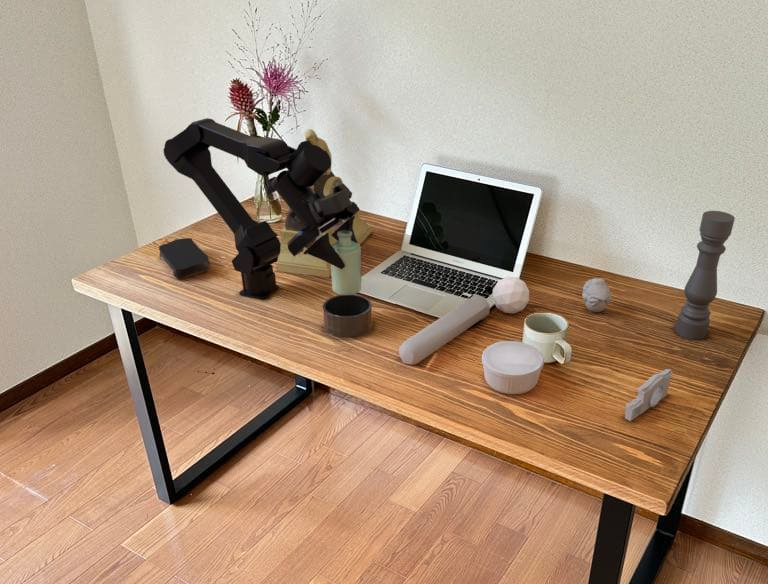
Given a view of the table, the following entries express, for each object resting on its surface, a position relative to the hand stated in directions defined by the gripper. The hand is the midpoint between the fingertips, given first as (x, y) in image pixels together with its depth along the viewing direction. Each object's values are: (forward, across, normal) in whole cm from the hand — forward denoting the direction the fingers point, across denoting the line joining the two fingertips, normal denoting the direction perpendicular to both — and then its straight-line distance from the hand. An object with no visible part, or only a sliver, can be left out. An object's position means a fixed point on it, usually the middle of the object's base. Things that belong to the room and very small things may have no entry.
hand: (351, 261), depth 144 cm
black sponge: (-24, +4, +44) cm, 51 cm away
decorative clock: (-7, +27, +26) cm, 38 cm away
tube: (+24, +1, -5) cm, 24 cm away
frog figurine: (+40, +27, -22) cm, 53 cm away
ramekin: (+35, -6, -17) cm, 40 cm away
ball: (+29, +19, -10) cm, 36 cm away
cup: (+10, -3, +9) cm, 14 cm away
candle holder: (+54, +27, -36) cm, 71 cm away
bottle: (+3, 0, +5) cm, 6 cm away
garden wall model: (+52, -3, -34) cm, 62 cm away
